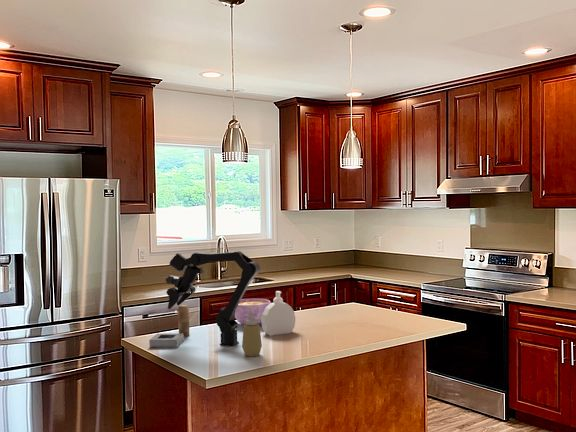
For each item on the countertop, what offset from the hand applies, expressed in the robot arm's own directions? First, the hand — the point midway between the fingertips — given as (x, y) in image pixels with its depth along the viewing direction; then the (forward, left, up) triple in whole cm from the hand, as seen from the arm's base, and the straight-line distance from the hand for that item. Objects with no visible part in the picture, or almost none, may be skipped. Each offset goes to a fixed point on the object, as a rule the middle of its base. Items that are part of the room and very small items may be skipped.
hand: (173, 306), depth 265 cm
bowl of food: (-16, -44, -16) cm, 50 cm away
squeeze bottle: (-44, +9, -16) cm, 48 cm away
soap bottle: (-38, -30, -16) cm, 51 cm away
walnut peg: (+3, -12, -16) cm, 20 cm away
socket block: (0, +5, -16) cm, 17 cm away
